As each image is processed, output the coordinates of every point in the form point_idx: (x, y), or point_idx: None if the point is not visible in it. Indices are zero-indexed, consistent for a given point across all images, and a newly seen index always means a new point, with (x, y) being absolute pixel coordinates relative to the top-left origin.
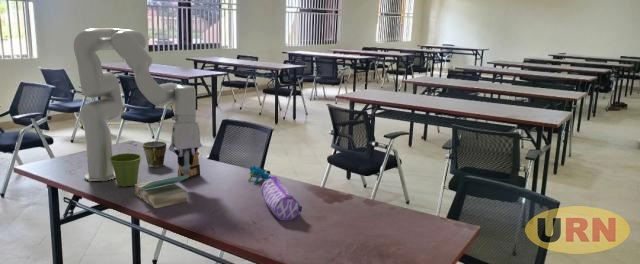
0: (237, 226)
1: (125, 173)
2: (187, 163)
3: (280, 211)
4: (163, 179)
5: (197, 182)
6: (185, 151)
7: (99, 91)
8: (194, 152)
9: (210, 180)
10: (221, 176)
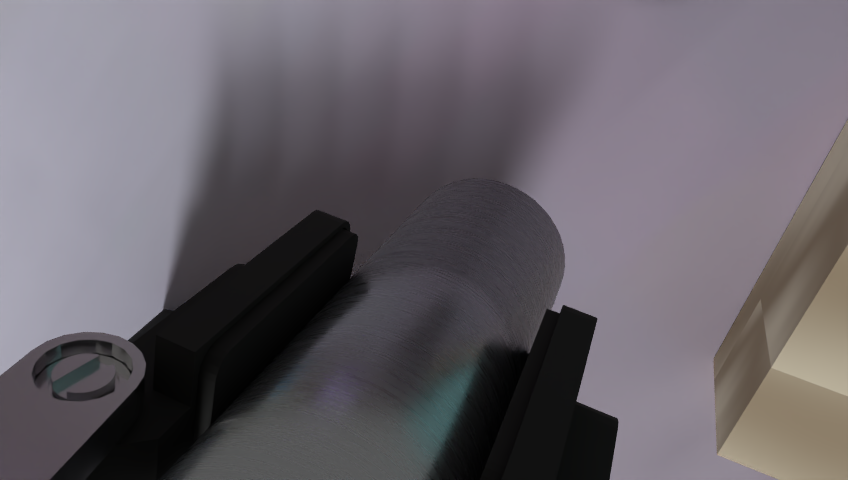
0: None
1: None
2: (436, 284)
3: None
4: (777, 450)
5: (306, 187)
6: None
7: None
8: (25, 372)
9: (160, 111)
10: (8, 110)
